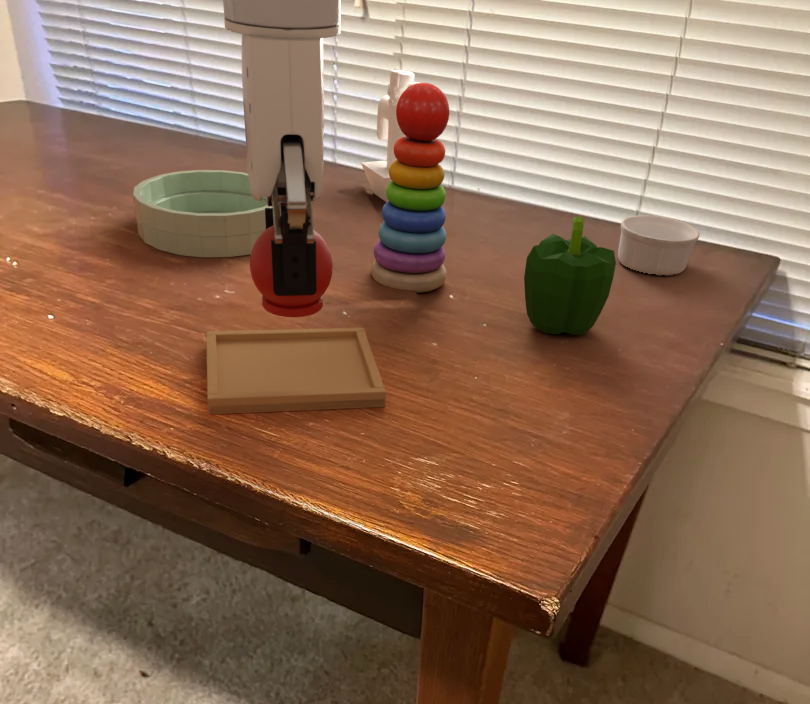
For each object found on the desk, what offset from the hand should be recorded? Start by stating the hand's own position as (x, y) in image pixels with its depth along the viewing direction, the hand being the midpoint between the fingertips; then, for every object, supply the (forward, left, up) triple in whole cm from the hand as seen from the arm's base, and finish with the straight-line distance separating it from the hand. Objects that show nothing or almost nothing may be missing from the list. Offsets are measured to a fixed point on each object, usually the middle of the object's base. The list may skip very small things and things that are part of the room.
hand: (290, 273), depth 64 cm
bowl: (-6, +34, -9) cm, 36 cm away
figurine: (+18, +49, -9) cm, 53 cm away
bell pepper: (+27, +8, -9) cm, 30 cm away
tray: (0, 0, -9) cm, 9 cm away
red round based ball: (0, 0, -3) cm, 3 cm away
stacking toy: (+14, +20, -9) cm, 26 cm away
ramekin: (+44, +24, -9) cm, 51 cm away
